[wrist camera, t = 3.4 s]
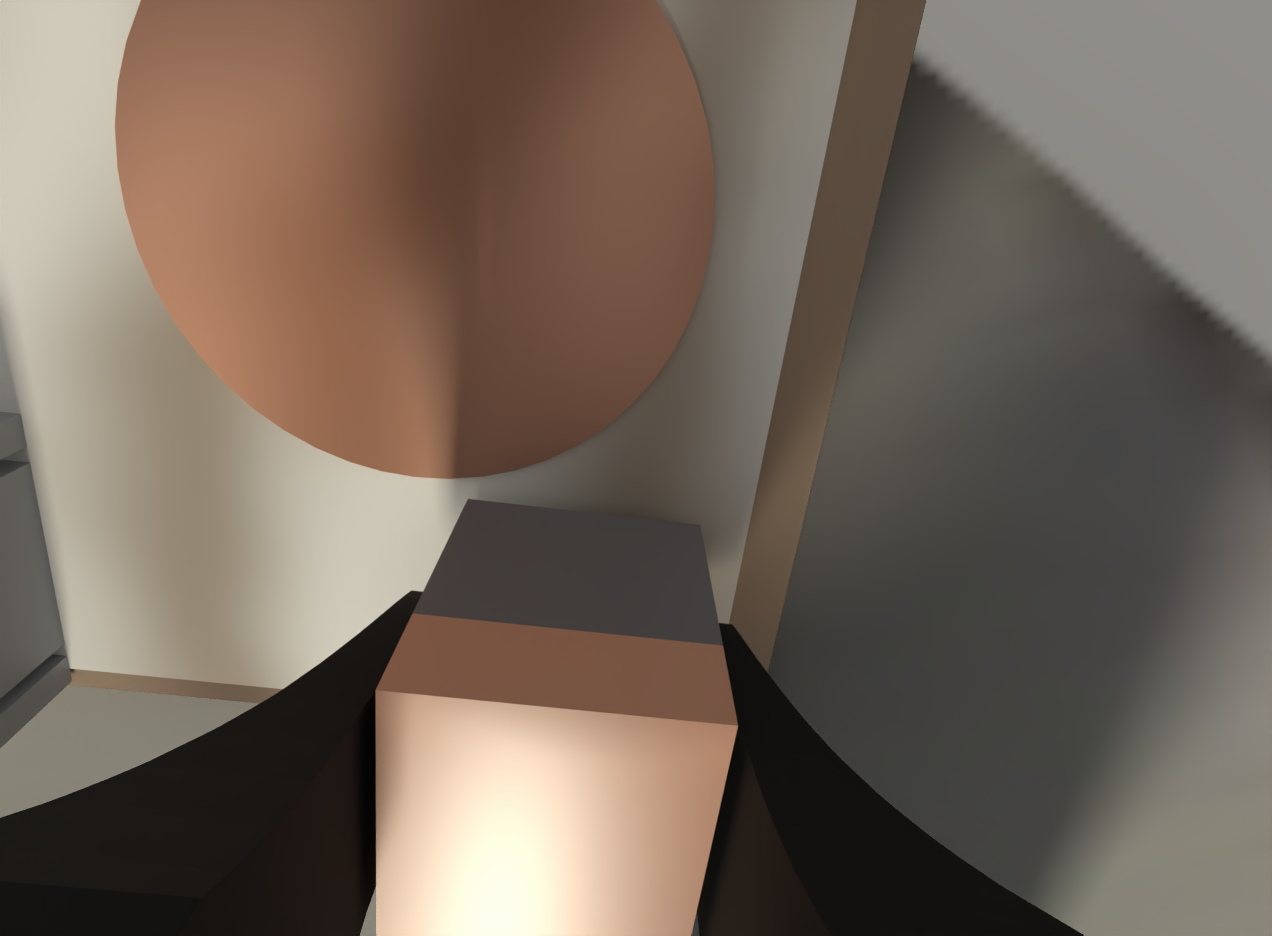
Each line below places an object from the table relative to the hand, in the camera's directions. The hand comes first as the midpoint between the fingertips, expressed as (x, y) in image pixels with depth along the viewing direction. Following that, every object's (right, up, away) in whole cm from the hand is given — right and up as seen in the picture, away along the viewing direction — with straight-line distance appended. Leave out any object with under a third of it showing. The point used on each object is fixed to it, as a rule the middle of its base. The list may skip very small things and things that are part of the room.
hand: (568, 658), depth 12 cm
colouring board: (-5, +6, +1) cm, 8 cm away
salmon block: (0, 0, +1) cm, 1 cm away
